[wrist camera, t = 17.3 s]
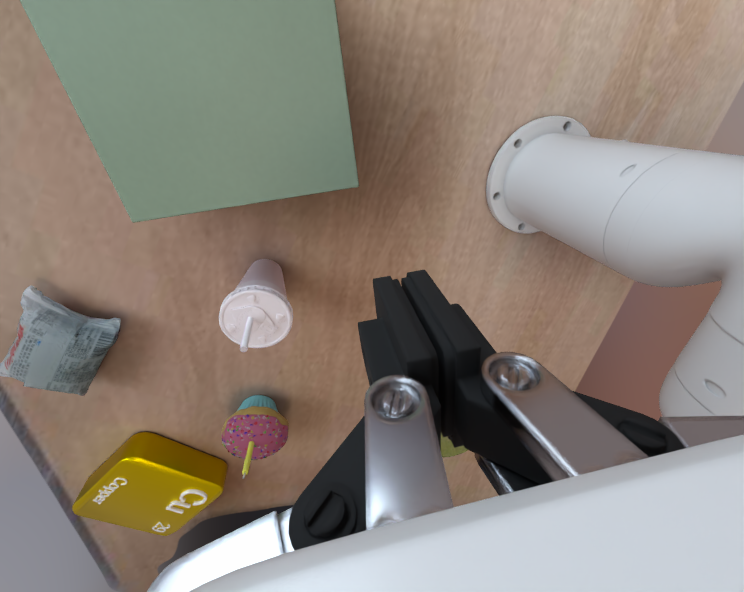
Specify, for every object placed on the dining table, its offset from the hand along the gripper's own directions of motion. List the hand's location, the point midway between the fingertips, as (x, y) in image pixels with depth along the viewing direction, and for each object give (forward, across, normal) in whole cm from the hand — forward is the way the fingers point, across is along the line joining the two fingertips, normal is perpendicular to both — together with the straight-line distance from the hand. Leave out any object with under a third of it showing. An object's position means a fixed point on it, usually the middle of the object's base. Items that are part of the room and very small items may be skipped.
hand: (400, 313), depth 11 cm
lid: (+18, +7, -7) cm, 20 cm away
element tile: (+27, +34, +40) cm, 59 cm away
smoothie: (+27, +10, +10) cm, 30 cm away
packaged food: (+27, +32, +13) cm, 44 cm away
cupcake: (+27, +16, +31) cm, 44 cm away
